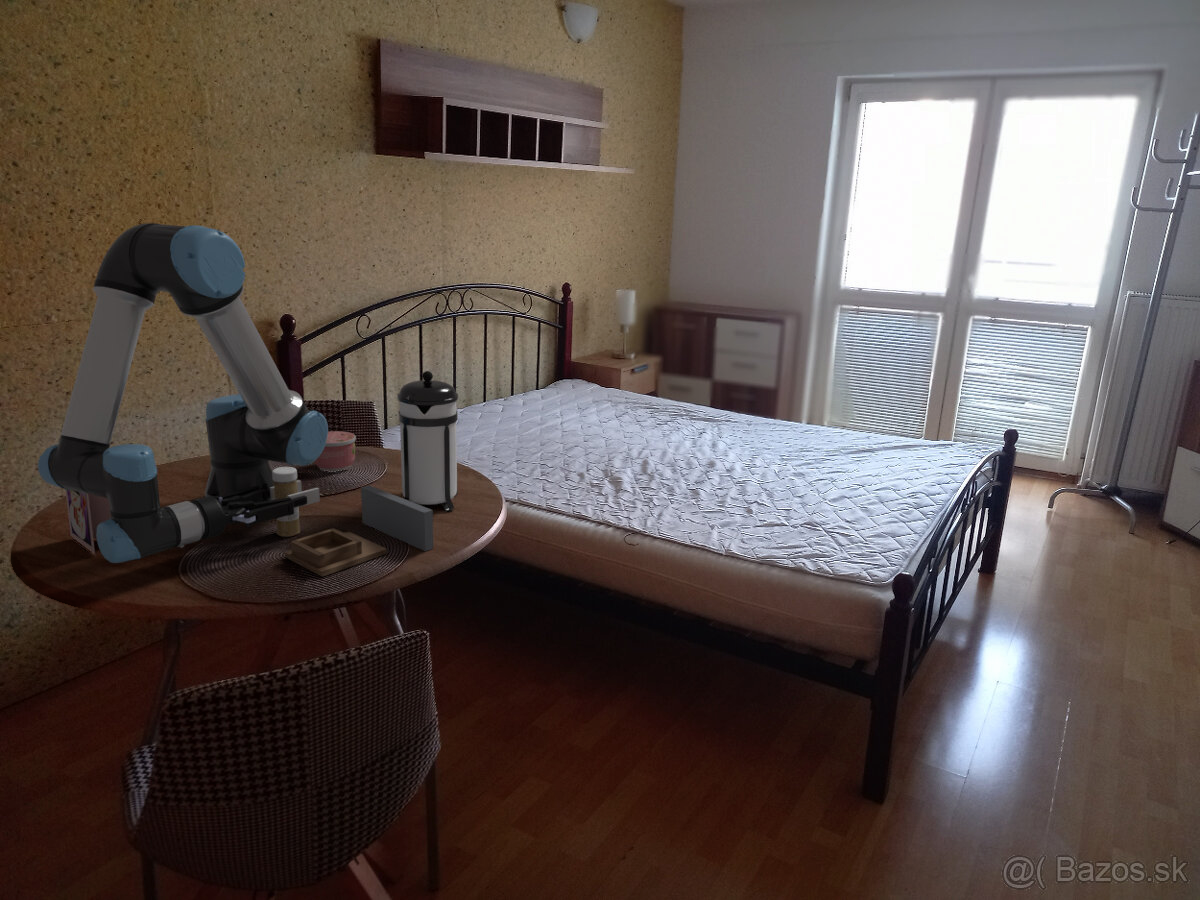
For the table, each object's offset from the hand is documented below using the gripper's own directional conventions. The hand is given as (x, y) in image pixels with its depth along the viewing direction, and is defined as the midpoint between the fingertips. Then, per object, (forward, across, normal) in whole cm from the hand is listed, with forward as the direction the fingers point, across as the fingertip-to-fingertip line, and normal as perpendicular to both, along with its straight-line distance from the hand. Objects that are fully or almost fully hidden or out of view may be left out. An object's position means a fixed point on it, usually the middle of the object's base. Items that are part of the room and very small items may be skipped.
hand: (309, 490), depth 167 cm
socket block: (-5, +16, -8) cm, 18 cm away
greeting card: (-32, -20, -8) cm, 39 cm away
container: (+25, -29, -8) cm, 39 cm away
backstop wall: (+9, +16, -8) cm, 20 cm away
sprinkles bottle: (-5, 0, -8) cm, 9 cm away
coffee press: (+27, +5, -8) cm, 28 cm away
